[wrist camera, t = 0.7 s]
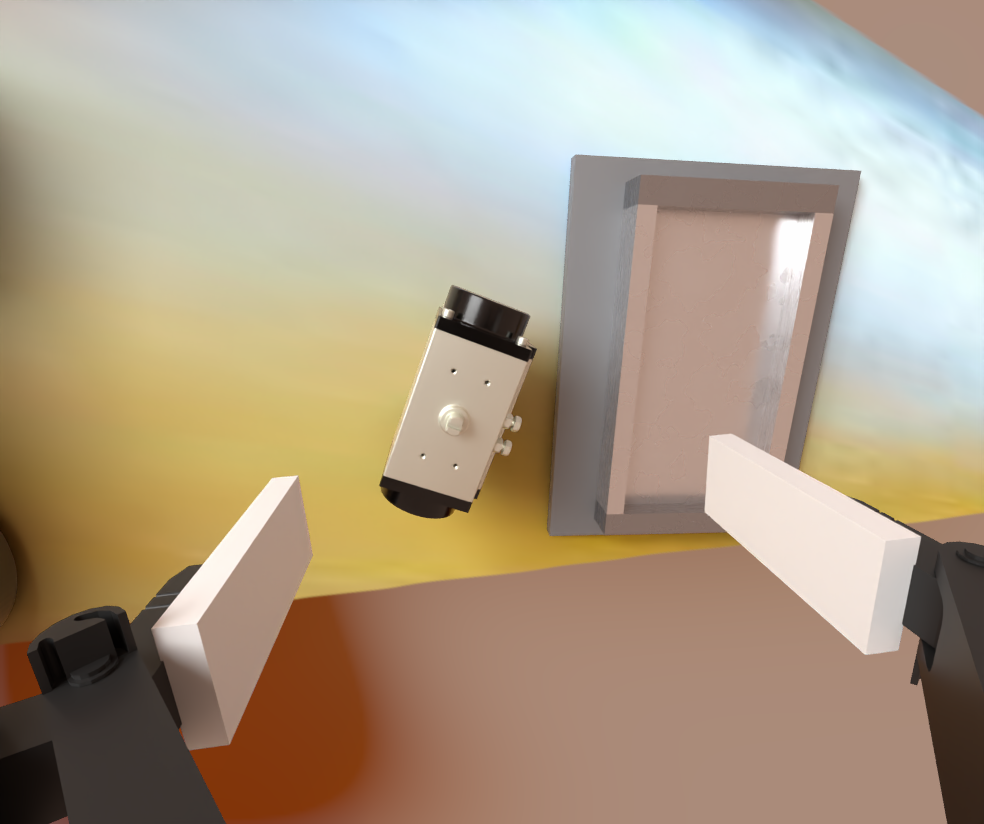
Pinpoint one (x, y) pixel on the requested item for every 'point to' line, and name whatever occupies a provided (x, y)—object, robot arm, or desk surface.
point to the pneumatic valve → (458, 406)
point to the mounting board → (593, 304)
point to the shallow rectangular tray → (704, 337)
